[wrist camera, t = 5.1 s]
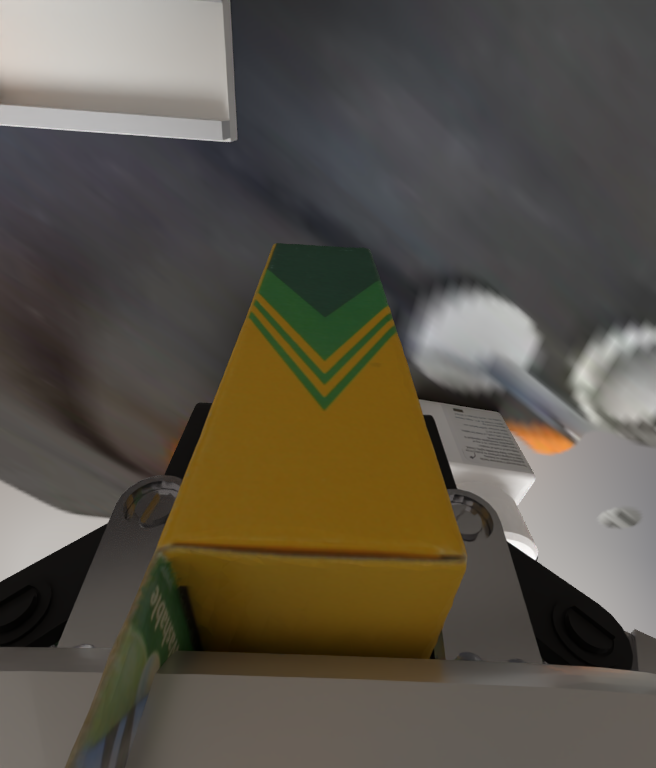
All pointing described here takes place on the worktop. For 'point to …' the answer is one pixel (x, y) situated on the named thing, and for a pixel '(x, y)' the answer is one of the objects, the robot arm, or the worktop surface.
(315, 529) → the crayon box
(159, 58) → the white divided tray
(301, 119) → the worktop surface
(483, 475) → the container
